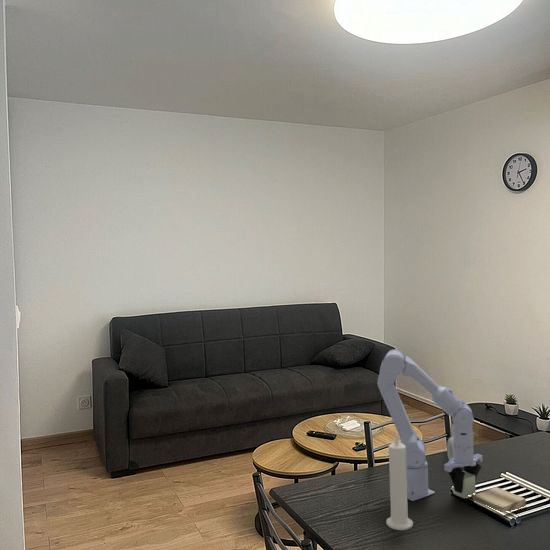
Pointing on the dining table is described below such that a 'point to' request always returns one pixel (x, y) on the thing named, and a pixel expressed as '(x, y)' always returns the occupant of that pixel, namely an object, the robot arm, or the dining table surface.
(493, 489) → the maple slab
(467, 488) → the sage block
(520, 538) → the dining table surface
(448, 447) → the grey flat oval piece
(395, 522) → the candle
